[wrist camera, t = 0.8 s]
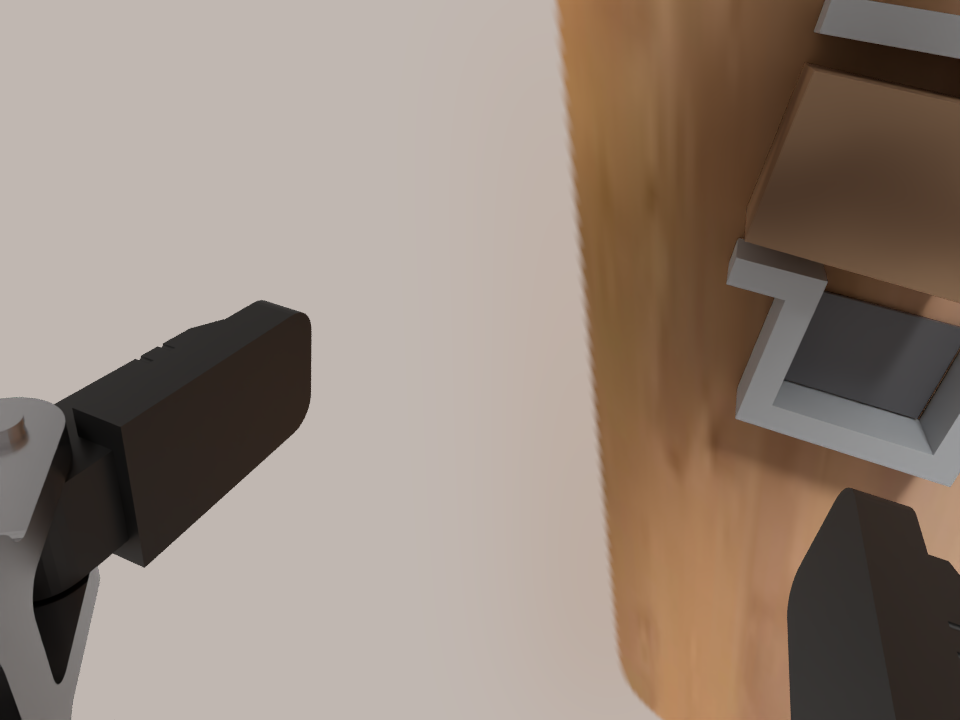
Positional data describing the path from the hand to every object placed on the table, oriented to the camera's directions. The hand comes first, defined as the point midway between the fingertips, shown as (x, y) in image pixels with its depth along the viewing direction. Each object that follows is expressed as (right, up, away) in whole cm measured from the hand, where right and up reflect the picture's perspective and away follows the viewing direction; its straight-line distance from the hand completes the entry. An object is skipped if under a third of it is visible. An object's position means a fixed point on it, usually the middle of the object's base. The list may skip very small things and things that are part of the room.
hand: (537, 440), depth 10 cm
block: (+13, +8, +13) cm, 19 cm away
